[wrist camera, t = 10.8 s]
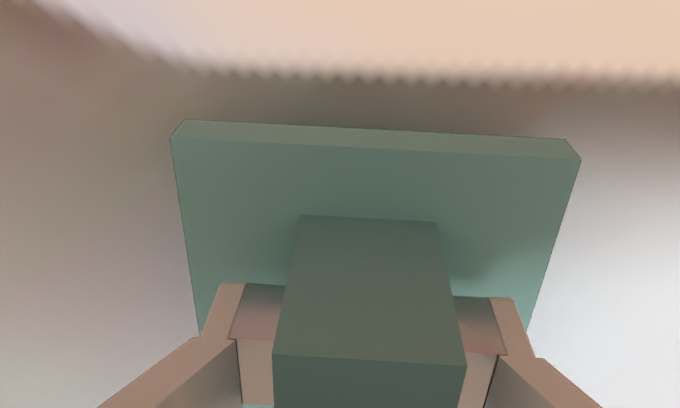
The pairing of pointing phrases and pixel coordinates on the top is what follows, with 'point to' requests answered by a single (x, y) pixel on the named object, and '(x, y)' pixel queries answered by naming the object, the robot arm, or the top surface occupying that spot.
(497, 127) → the top surface
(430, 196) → the cover plate
